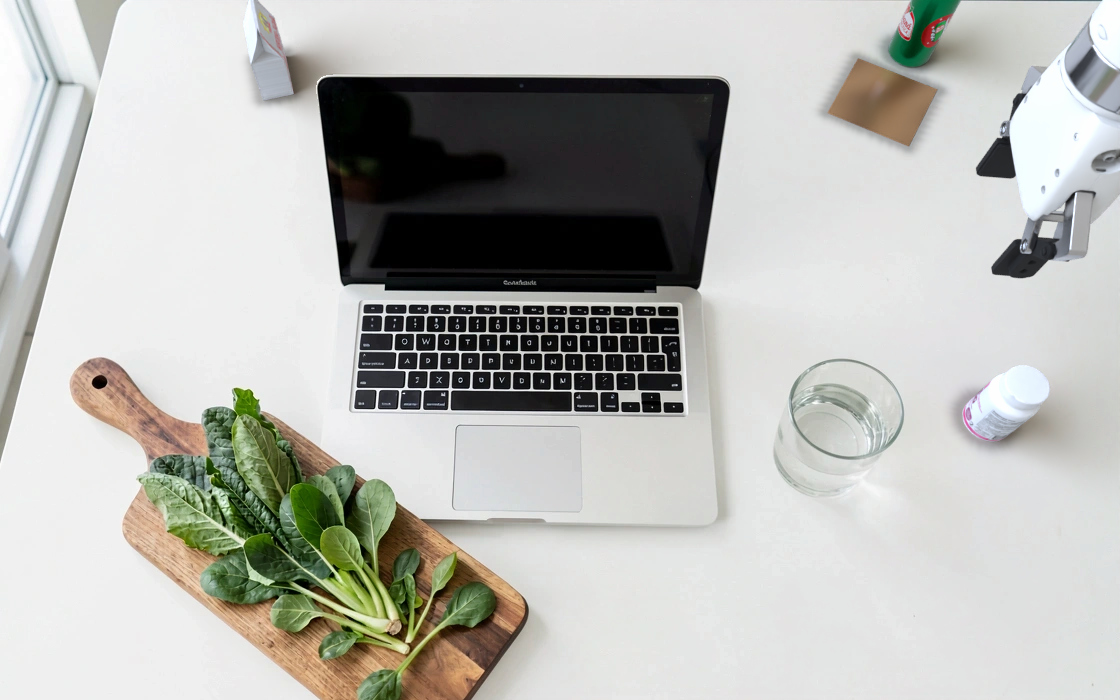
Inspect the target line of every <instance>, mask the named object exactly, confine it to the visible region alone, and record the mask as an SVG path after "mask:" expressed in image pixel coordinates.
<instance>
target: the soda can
mask: <svg viewBox="0 0 1120 700" xmlns="http://www.w3.org/2000/svg"><path fill="white" fill-rule="evenodd" d="M961 2H962V0H909V2H908V4H907V6H906V8H905V10H904V12H903V14H902V17H901V19H900V20H899V22H898V25H897V28H896V29H895V30H894V34H893V35H892V38H891V40H890V41H889V45H888V48H887V50H888V53H889V56H890V58H891V59H892V60H893V61H894V62H895V63H896V64H898V65H900V66H902V67H907V68H917V67H921V66H923V65H926V64H927V63H928V62H929V60H930V59H931V58H932V55H933V53H934V52H935V49H936V48H937V46H938V44H939V42H940V40H941V39H942V37H943V36H944V33H945V31H946V29H947V28H948V26H949V24H950V23H951V20H952V18H953V17H954V15H955V13H956V11H957V9H958V7H959V6H960V4H961Z"/></svg>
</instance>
